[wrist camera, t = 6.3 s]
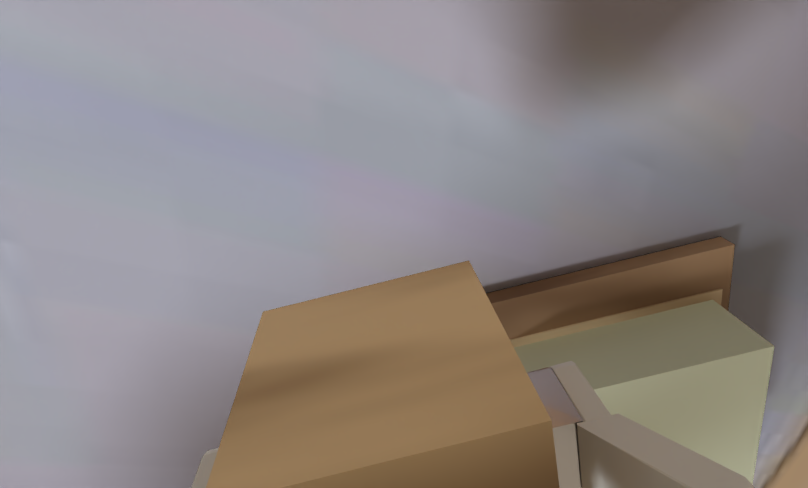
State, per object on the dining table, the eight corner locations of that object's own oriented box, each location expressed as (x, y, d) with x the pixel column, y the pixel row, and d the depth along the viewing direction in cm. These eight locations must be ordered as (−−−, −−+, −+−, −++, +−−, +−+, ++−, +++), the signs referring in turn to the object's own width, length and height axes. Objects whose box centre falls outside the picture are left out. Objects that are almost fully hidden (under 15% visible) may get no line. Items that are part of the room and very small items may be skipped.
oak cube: (497, 414, 13) (574, 617, 8) (324, 457, 13) (309, 682, 8) (468, 260, 11) (551, 420, 6) (263, 311, 11) (199, 508, 6)
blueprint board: (700, 467, 32) (711, 481, 31) (503, 514, 32) (507, 530, 31) (720, 236, 24) (736, 245, 23) (460, 299, 24) (464, 311, 23)
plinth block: (699, 454, 30) (747, 513, 26) (517, 498, 30) (539, 562, 26) (712, 299, 25) (774, 346, 21) (491, 353, 25) (515, 408, 21)
